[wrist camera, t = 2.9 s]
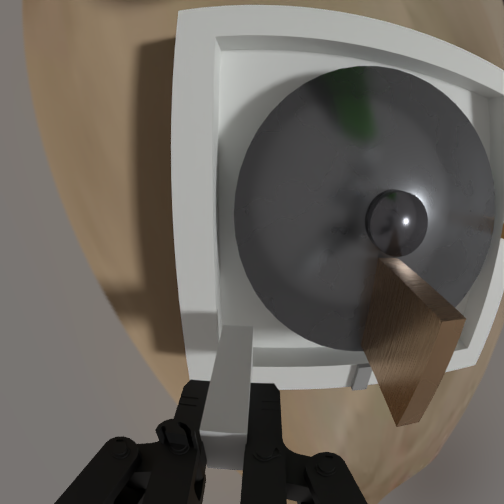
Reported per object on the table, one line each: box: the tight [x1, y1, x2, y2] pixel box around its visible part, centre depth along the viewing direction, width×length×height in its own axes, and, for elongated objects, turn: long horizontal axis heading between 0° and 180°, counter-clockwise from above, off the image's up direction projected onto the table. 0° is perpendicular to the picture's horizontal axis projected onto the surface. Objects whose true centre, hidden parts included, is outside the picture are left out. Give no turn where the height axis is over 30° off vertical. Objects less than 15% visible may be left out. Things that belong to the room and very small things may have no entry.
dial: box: [234, 66, 495, 427], centre depth 11 cm, size 16×16×8 cm
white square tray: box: [171, 5, 504, 390], centre depth 15 cm, size 22×22×4 cm
